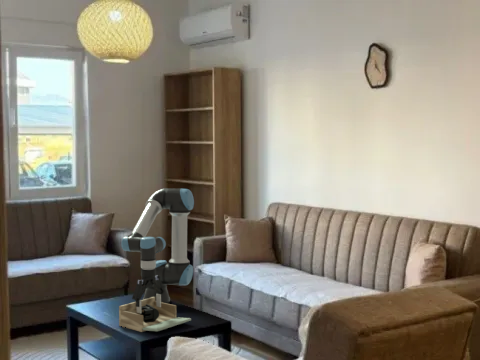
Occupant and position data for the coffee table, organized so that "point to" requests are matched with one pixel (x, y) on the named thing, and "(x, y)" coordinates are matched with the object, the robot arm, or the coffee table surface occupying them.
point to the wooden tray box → (135, 320)
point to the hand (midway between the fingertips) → (149, 309)
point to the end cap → (149, 313)
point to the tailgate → (166, 324)
